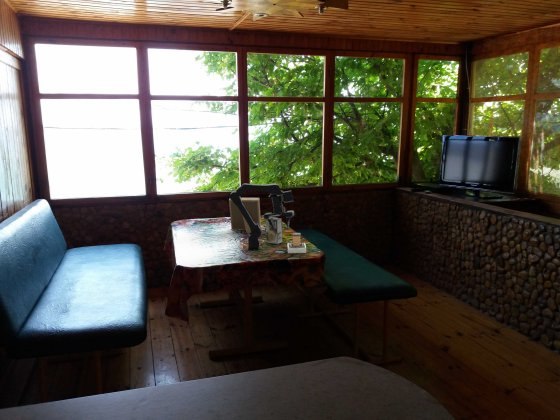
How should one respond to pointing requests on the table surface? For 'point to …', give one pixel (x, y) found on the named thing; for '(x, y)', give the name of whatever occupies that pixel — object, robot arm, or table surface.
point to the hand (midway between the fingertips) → (280, 228)
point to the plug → (296, 239)
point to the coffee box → (274, 231)
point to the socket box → (296, 248)
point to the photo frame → (237, 217)
